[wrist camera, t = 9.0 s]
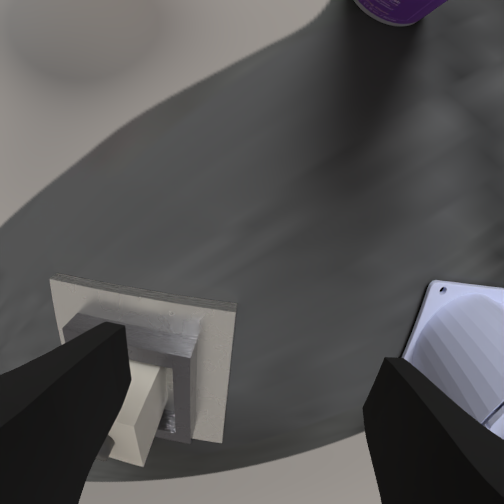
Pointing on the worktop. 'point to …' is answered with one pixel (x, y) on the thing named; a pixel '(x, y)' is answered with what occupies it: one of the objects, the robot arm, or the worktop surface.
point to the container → (398, 10)
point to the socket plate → (162, 345)
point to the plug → (137, 415)
